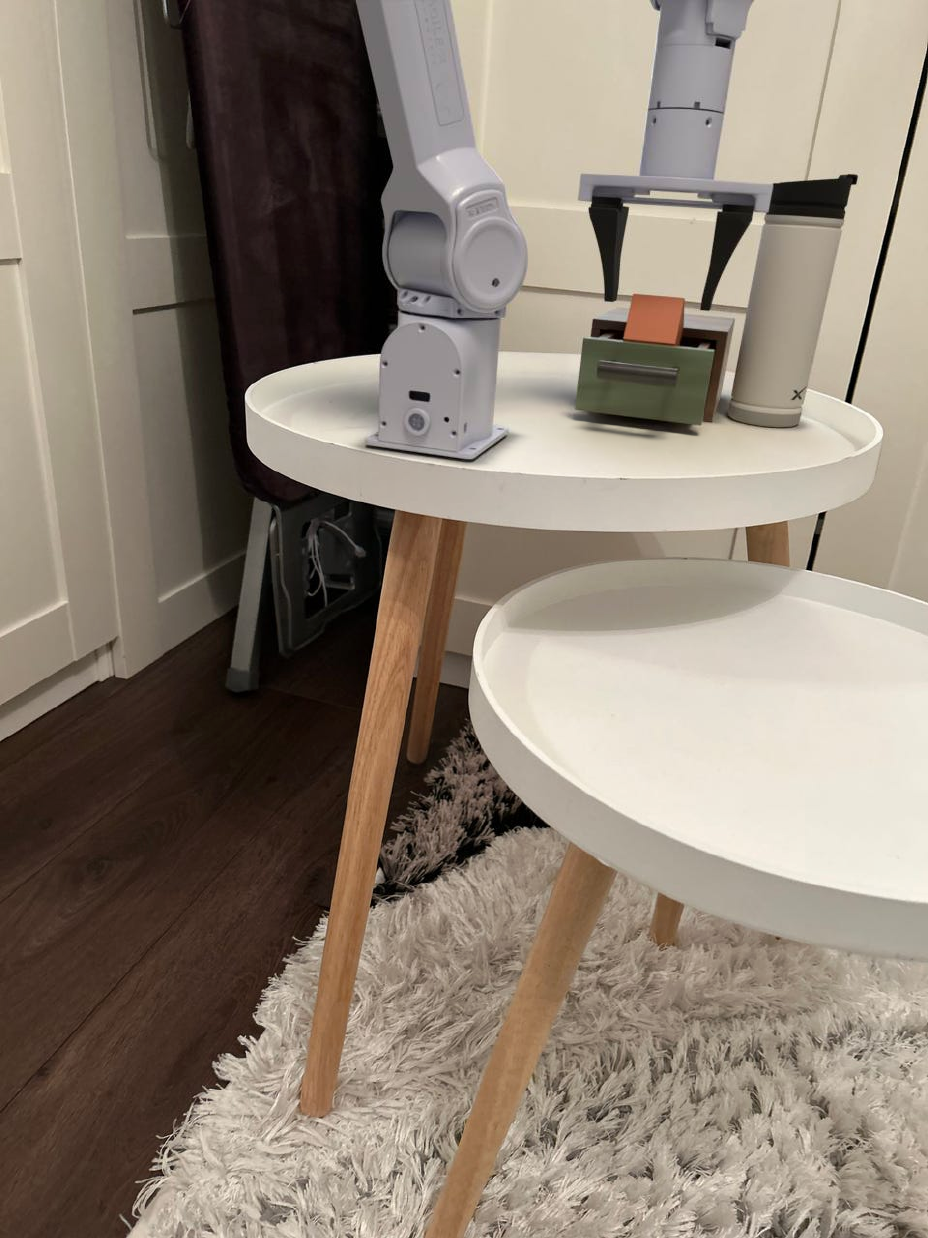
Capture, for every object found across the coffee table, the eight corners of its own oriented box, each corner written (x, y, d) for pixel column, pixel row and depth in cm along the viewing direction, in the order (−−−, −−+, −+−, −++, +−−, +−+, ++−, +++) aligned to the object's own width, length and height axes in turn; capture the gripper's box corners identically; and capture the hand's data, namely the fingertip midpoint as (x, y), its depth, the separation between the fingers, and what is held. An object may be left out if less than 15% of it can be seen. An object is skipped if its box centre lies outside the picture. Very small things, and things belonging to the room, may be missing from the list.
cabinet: (712, 421, 77) (728, 331, 74) (582, 405, 80) (592, 318, 77) (720, 397, 89) (735, 318, 86) (607, 383, 92) (617, 307, 89)
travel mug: (812, 430, 77) (871, 173, 68) (737, 425, 76) (786, 167, 68) (790, 415, 82) (841, 176, 74) (719, 410, 82) (763, 171, 74)
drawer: (696, 437, 67) (709, 358, 64) (562, 420, 70) (571, 343, 67) (711, 400, 82) (722, 335, 79) (600, 387, 85) (608, 324, 82)
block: (675, 344, 70) (685, 297, 71) (622, 338, 71) (633, 292, 72) (674, 370, 74) (683, 325, 75) (624, 365, 75) (634, 321, 76)
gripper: (785, 123, 67) (750, 309, 73) (598, 116, 71) (579, 294, 77) (786, 111, 61) (748, 316, 67) (582, 105, 65) (562, 299, 71)
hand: (657, 305), depth 72 cm, fingers open, 7 cm apart
